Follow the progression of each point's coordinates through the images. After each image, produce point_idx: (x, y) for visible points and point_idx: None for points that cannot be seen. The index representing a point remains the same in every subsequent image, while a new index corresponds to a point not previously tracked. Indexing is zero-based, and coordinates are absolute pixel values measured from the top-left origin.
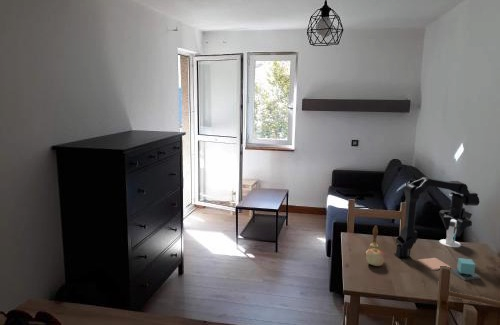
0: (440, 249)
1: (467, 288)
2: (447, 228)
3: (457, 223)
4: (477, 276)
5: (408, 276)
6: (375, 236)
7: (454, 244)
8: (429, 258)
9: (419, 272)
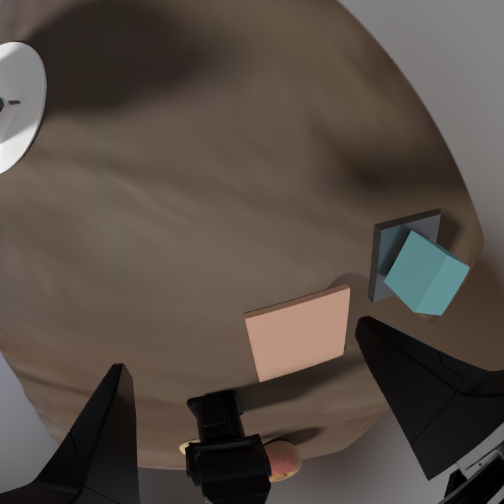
0: (90, 221)
1: None
2: (127, 390)
3: (452, 480)
4: (438, 226)
5: (346, 400)
6: None
7: (12, 85)
8: (253, 344)
9: (338, 381)
